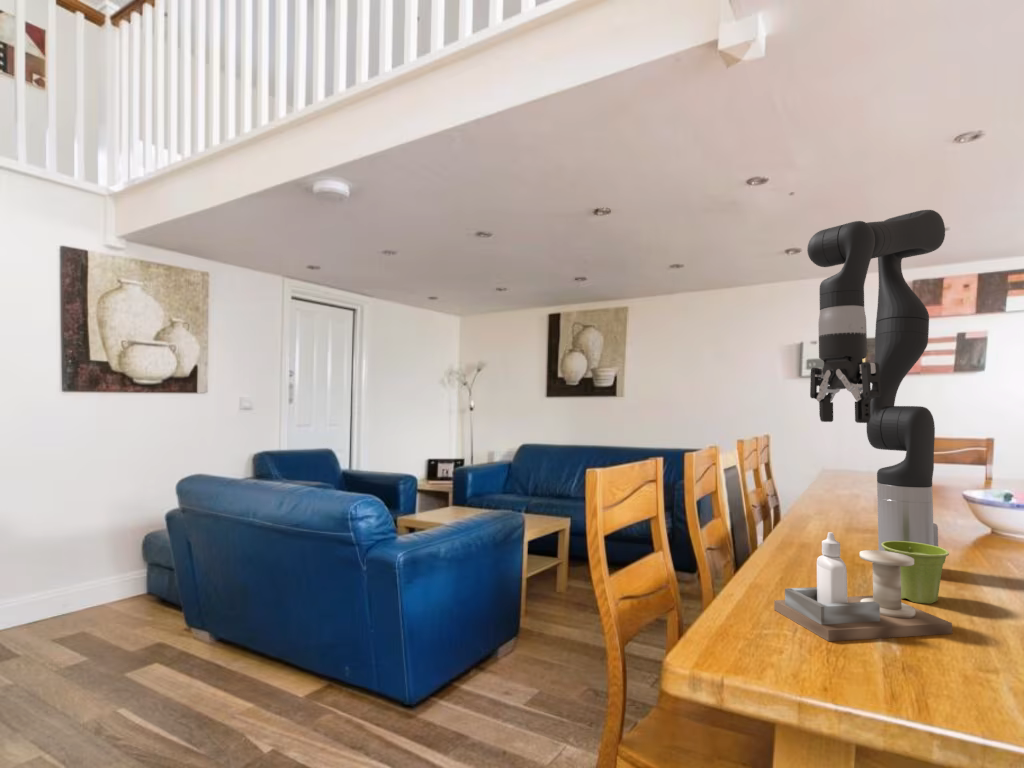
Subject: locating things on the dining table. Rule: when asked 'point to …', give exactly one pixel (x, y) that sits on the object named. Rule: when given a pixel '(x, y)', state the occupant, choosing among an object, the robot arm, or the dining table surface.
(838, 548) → the eye dropper bottle
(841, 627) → the board
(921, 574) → the plant pot
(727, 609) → the dining table surface
